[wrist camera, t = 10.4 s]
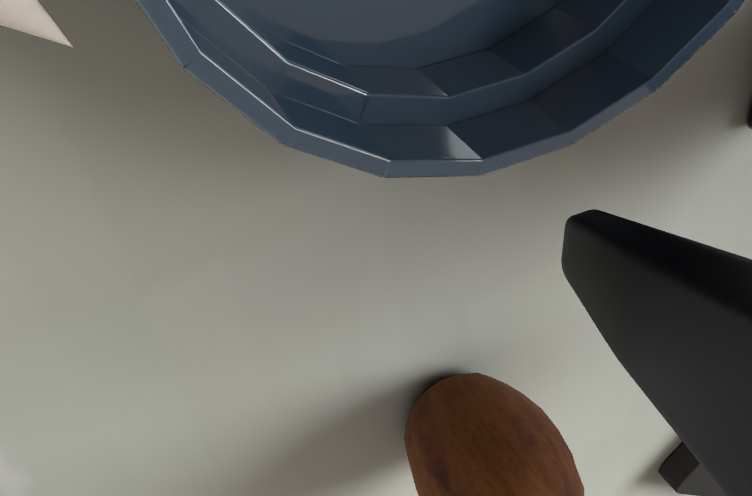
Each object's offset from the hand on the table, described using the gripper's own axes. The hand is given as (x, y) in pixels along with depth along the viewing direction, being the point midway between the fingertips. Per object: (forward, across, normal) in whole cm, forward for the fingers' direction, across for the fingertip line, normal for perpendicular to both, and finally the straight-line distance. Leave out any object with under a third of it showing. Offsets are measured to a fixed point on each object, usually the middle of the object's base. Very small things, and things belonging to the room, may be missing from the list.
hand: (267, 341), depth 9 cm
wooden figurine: (+12, -8, +19) cm, 24 cm away
